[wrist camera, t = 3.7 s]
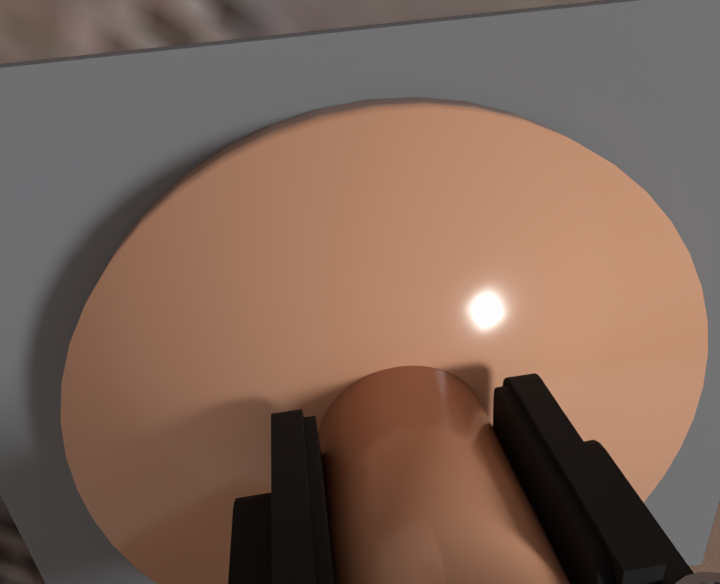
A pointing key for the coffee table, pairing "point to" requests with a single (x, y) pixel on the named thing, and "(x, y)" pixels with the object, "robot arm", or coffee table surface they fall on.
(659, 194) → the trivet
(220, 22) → the coffee table surface
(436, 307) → the lid
